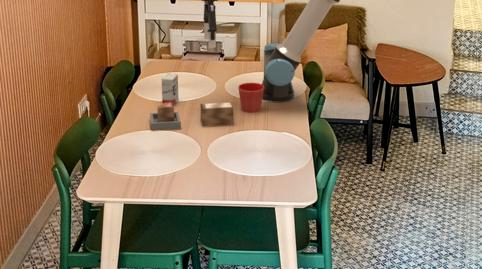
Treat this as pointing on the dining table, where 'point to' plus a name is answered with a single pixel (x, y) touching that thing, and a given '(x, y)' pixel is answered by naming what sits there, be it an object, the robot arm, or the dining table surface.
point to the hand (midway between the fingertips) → (209, 43)
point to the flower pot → (251, 96)
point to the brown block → (165, 112)
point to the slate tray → (164, 125)
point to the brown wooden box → (216, 114)
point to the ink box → (170, 88)
